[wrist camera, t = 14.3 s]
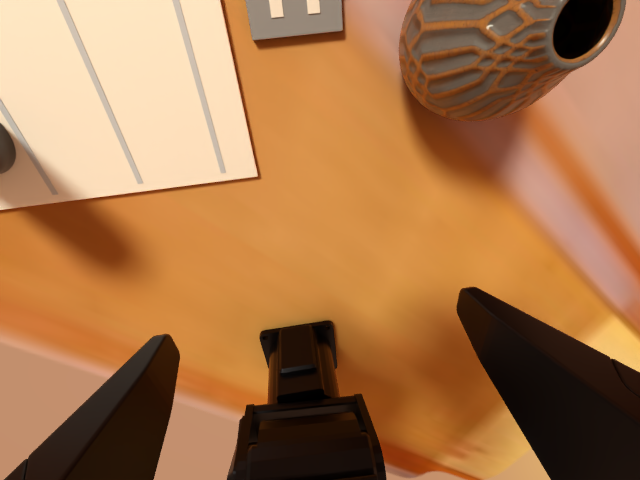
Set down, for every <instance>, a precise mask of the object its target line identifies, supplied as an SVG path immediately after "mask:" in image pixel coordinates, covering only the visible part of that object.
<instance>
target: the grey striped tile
mask: <svg viewBox="0 0 640 480" xmlns="http://www.w3.org/2000/svg"><path fill="white" fill-rule="evenodd" d="M246 6H247V12H248V17H249V23H250V28H251V34H252V40H253V41H254V40H264V39H273V38H282V37H292V36H301V35H310V34H320V33H329V32H338V31H343V24H342V1H341V0H246Z"/></svg>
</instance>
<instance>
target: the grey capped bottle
mask: <svg viewBox="0 0 640 480" xmlns="http://www.w3.org/2000/svg"><path fill="white" fill-rule="evenodd" d="M15 159H16V150H15V146H14V143H13V140H12V138H11V137H10V135H9V133H8V132H7V130H6V129H5V128H4V127H3V126H2V124H1V123H0V174H2V173H5V172H6V171H8V170H9V169H10V168H11V167H12V166H13V164H14V162H15Z"/></svg>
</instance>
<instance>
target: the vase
mask: <svg viewBox="0 0 640 480" xmlns="http://www.w3.org/2000/svg"><path fill="white" fill-rule="evenodd" d="M625 5H626V0H412V1H411V3H410V5H409V8H408V10H407V13H406V15H405V18H404V22H403V25H402V29H401V34H400V41H399V60H400V67H401V71H402V74H403V77H404V80H405V82H406V85H407V87H408V88H409V90H410V92H411V93H412V94H413V96H414V97H415V98H416V99H417V100H418V101H419V102H420V103H421V104H422V105H423V106H424V107H426V108H427V109H429V110H430V111H432V112H434V113H436V114H438V115H440V116H443V117H446V118H449V119H453V120H458V121H484V120H490V119H495V118H499V117H503V116H506V115H509V114H512V113H514V112H517V111H519V110H521V109H523V108H525V107H527V106H529V105H531V104H533V103H534V102H536V101H537V100H539V99H540V98H542V97H543V96H545V95H546V94H547V93H548V92H550V91H551V90H552V89H553V88H554V87H555V86H557V85H558V84H559V83H560V82H561V81H562V80H563V79H564V78H565V77H566V76H567V75H568V74H569V73H570V72H572V71H574V70H576V69H578V68H580V67H582V66H584V65H586V64H587V63H589V62H590V61H592V60H593V59H594V58H596V57H597V56H598V55H599V54H600V53H601V52H602V51H603V50H604V49H605V48H606V46H607V45H608V44H609V43H610V41H611V40H612V38H613V37H614V35H615V33H616V32H617V30H618V28H619V26H620V23H621V21H622V18H623V15H624V11H625Z"/></svg>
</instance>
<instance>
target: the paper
mask: <svg viewBox="0 0 640 480" xmlns="http://www.w3.org/2000/svg"><path fill="white" fill-rule="evenodd" d="M0 123H1V124H2V126H3V127H4V128H5V129H6V130H7V132H8V133H9V135H10V137H11V138H12V140H13V143H14V146H15V150H16V159H15V162H14V164H13V166H12V167H11V168H10V169H9V170H8V171H6V172H5V173H2V174H0V210H4V209H11V208H19V207H27V206H34V205H42V204H50V203H57V202H65V201H73V200H81V199H88V198H96V197H104V196H111V195H119V194H127V193H134V192H142V191H150V190H157V189H165V188H173V187H180V186H188V185H196V184H203V183H211V182H219V181H226V180H234V179H242V178H249V177H257V176H258V173H257V168H256V164H255V159H254V154H253V149H252V145H251V140H250V135H249V131H248V126H247V121H246V117H245V112H244V107H243V103H242V98H241V93H240V89H239V84H238V79H237V75H236V70H235V65H234V61H233V56H232V51H231V46H230V42H229V37H228V32H227V28H226V23H225V18H224V14H223V9H222V4H221V0H0Z"/></svg>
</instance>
